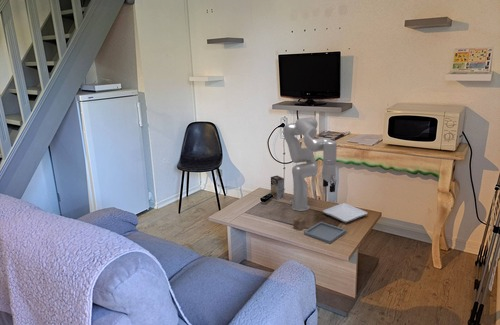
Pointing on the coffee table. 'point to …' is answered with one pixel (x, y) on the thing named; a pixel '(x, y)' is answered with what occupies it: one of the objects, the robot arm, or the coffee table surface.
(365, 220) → the coffee table surface
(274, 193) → the coffee box
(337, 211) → the salad plate
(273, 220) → the coffee table surface
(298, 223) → the walnut block
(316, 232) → the slate dish
